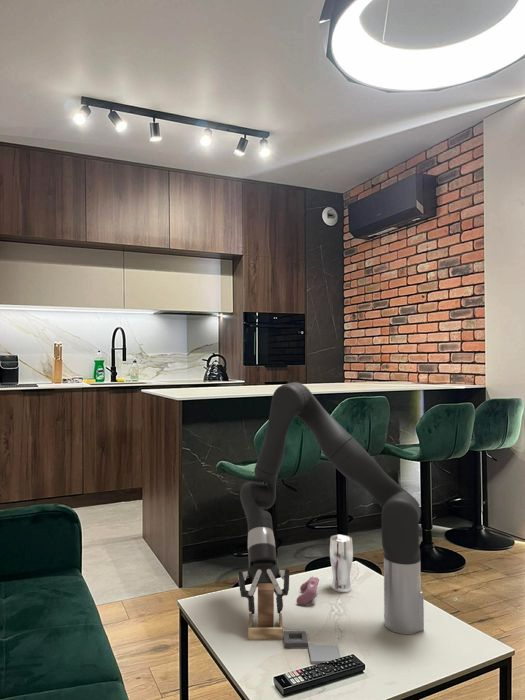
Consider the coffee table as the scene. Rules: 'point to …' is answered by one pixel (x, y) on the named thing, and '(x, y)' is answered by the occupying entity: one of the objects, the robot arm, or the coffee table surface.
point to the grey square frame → (295, 643)
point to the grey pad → (323, 653)
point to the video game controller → (308, 590)
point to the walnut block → (265, 605)
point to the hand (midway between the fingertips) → (266, 612)
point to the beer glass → (341, 562)
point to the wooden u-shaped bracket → (265, 630)
